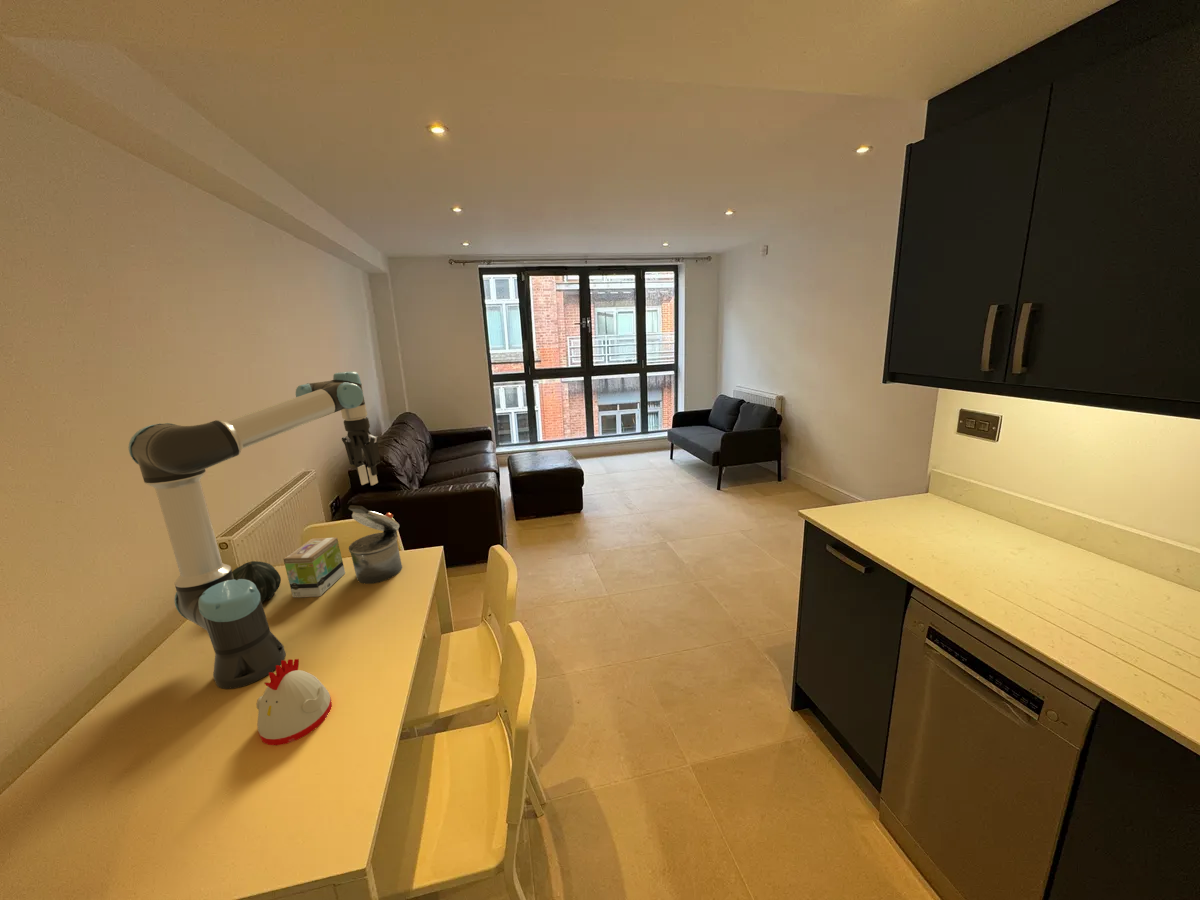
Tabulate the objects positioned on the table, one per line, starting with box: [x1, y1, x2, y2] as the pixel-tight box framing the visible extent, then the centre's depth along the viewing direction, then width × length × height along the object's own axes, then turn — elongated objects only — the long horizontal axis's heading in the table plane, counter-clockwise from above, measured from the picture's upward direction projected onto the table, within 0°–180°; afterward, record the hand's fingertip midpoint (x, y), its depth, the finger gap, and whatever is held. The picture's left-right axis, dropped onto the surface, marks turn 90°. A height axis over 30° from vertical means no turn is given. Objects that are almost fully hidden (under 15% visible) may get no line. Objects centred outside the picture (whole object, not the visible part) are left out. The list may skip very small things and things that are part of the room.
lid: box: [348, 504, 400, 532], centre depth 163 cm, size 20×16×4 cm
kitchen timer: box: [256, 658, 333, 746], centre depth 102 cm, size 14×14×15 cm
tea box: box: [283, 537, 346, 598], centre depth 158 cm, size 15×10×15 cm, turn 179°
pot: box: [348, 530, 403, 585], centre depth 165 cm, size 17×16×12 cm
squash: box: [232, 560, 282, 603], centre depth 152 cm, size 14×15×15 cm
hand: (369, 483), depth 161 cm, fingers open, 3 cm apart
